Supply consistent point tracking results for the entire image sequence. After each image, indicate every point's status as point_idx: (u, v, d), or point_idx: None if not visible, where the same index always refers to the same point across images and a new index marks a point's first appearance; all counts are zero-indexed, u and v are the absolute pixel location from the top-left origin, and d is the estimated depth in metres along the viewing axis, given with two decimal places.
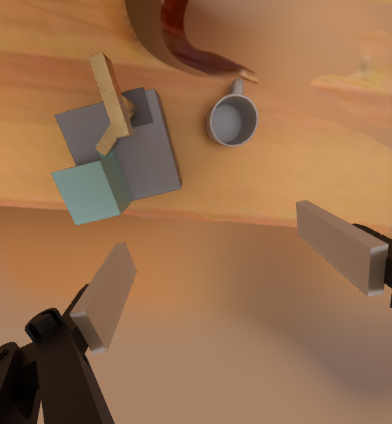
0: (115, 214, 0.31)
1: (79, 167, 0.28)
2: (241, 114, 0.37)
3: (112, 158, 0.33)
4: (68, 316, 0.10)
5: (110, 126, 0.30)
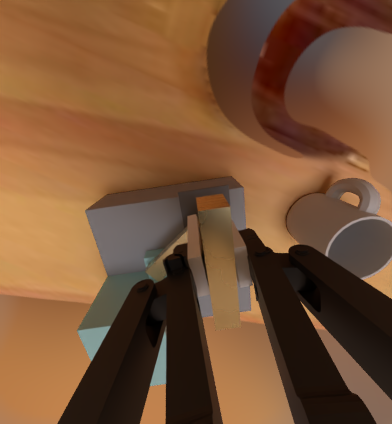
0: None
1: None
2: None
3: None
4: None
5: (175, 245, 0.19)
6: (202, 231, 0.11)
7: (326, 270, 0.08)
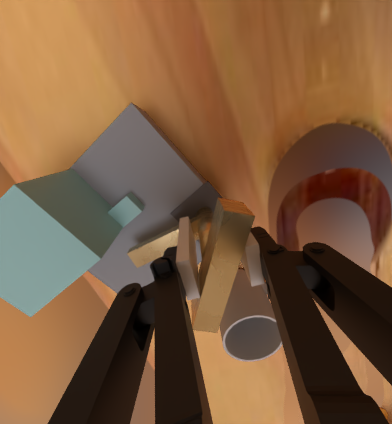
0: (24, 310, 0.16)
1: (65, 231, 0.14)
2: None
3: (119, 231, 0.19)
4: None
5: (167, 237, 0.19)
6: (220, 230, 0.11)
7: (341, 268, 0.08)
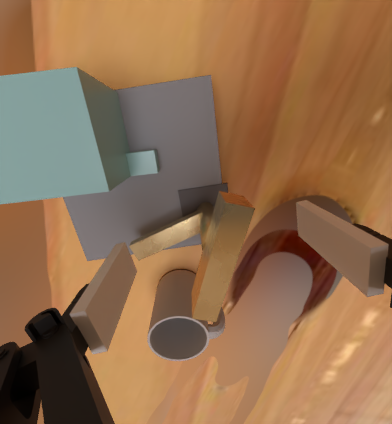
0: None
1: (93, 145, 0.13)
2: None
3: None
4: (68, 316, 0.10)
5: (168, 230, 0.19)
6: (221, 222, 0.11)
7: None
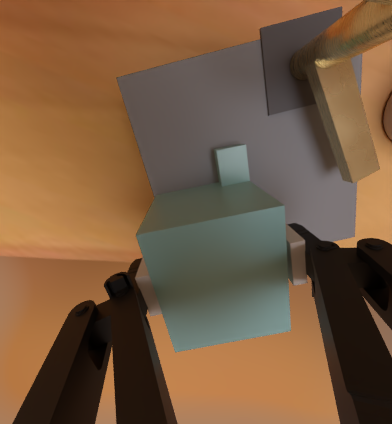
0: (278, 330, 0.12)
1: (221, 221, 0.10)
2: None
3: None
4: None
5: (338, 122, 0.12)
6: None
7: None
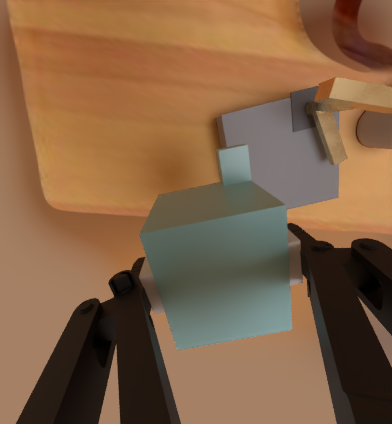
0: (279, 329, 0.12)
1: (223, 221, 0.10)
2: None
3: None
4: None
5: (326, 136, 0.27)
6: (341, 98, 0.19)
7: None
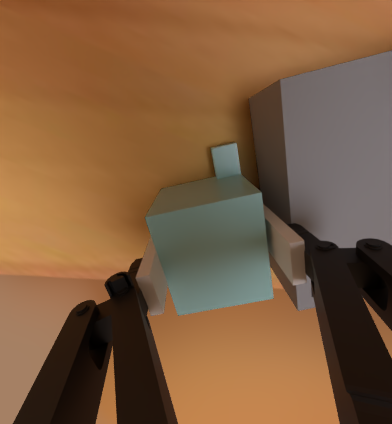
0: (262, 298, 0.15)
1: (211, 206, 0.12)
2: None
3: None
4: None
5: None
6: None
7: None
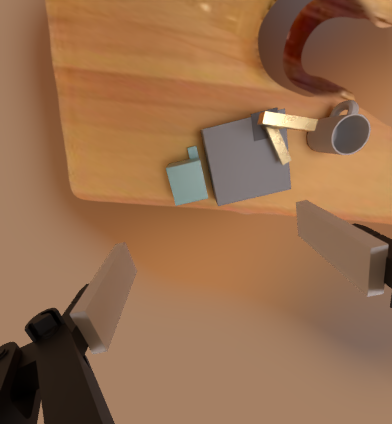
0: (204, 198, 0.44)
1: (185, 164, 0.41)
2: (339, 127, 0.45)
3: None
4: (68, 316, 0.10)
5: (275, 145, 0.39)
6: (270, 123, 0.30)
7: None
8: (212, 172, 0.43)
